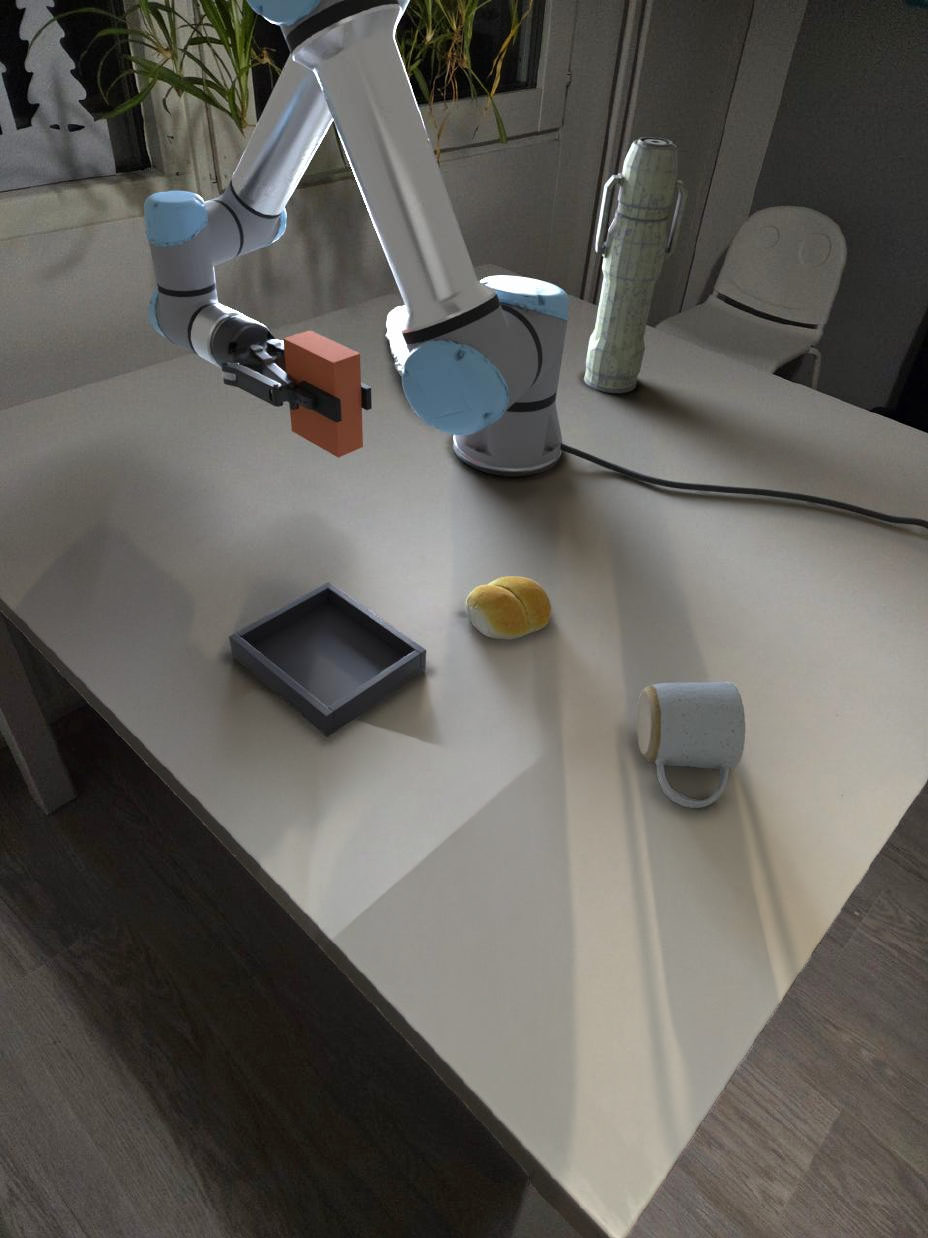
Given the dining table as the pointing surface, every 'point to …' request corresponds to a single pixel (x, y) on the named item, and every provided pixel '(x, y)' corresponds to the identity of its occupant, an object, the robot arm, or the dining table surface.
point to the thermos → (633, 260)
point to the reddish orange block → (326, 390)
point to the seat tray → (328, 656)
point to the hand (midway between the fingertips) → (353, 404)
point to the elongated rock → (397, 337)
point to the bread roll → (508, 607)
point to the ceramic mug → (691, 730)
